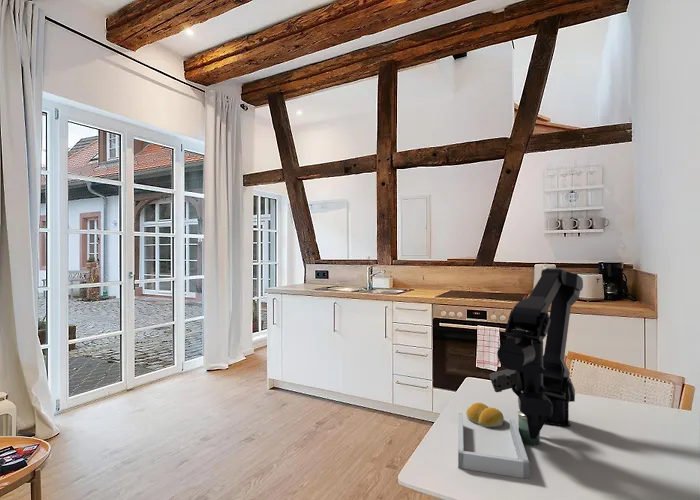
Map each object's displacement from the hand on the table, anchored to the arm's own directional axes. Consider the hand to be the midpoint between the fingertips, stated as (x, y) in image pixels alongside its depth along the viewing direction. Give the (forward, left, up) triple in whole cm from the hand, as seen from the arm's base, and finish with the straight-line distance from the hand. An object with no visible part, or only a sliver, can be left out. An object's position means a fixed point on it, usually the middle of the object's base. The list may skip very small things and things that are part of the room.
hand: (529, 429), depth 87 cm
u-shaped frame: (+9, +6, -3) cm, 11 cm away
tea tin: (0, 0, -3) cm, 3 cm away
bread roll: (+9, -9, -3) cm, 13 cm away
